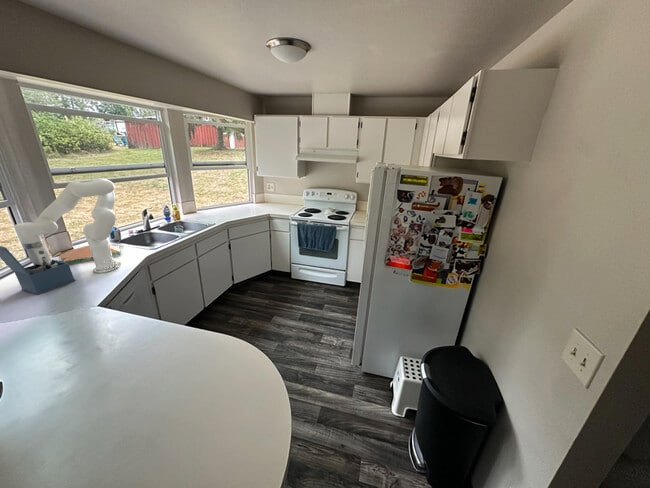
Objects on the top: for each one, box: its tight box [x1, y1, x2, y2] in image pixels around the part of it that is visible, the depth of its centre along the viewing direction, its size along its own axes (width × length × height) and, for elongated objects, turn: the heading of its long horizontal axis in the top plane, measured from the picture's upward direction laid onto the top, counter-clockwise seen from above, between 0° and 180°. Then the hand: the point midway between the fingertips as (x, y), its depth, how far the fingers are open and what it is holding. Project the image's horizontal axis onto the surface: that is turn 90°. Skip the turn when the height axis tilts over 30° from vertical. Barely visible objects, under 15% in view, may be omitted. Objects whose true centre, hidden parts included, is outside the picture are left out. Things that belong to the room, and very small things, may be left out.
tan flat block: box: [58, 243, 121, 266], centre depth 184 cm, size 23×33×8 cm
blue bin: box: [13, 259, 76, 295], centre depth 144 cm, size 17×15×12 cm
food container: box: [27, 263, 58, 274], centre depth 143 cm, size 12×6×10 cm, turn 138°
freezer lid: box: [0, 245, 30, 275], centre depth 128 cm, size 17×15×5 cm
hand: (45, 273), depth 144 cm, fingers closed on food container, 7 cm apart
